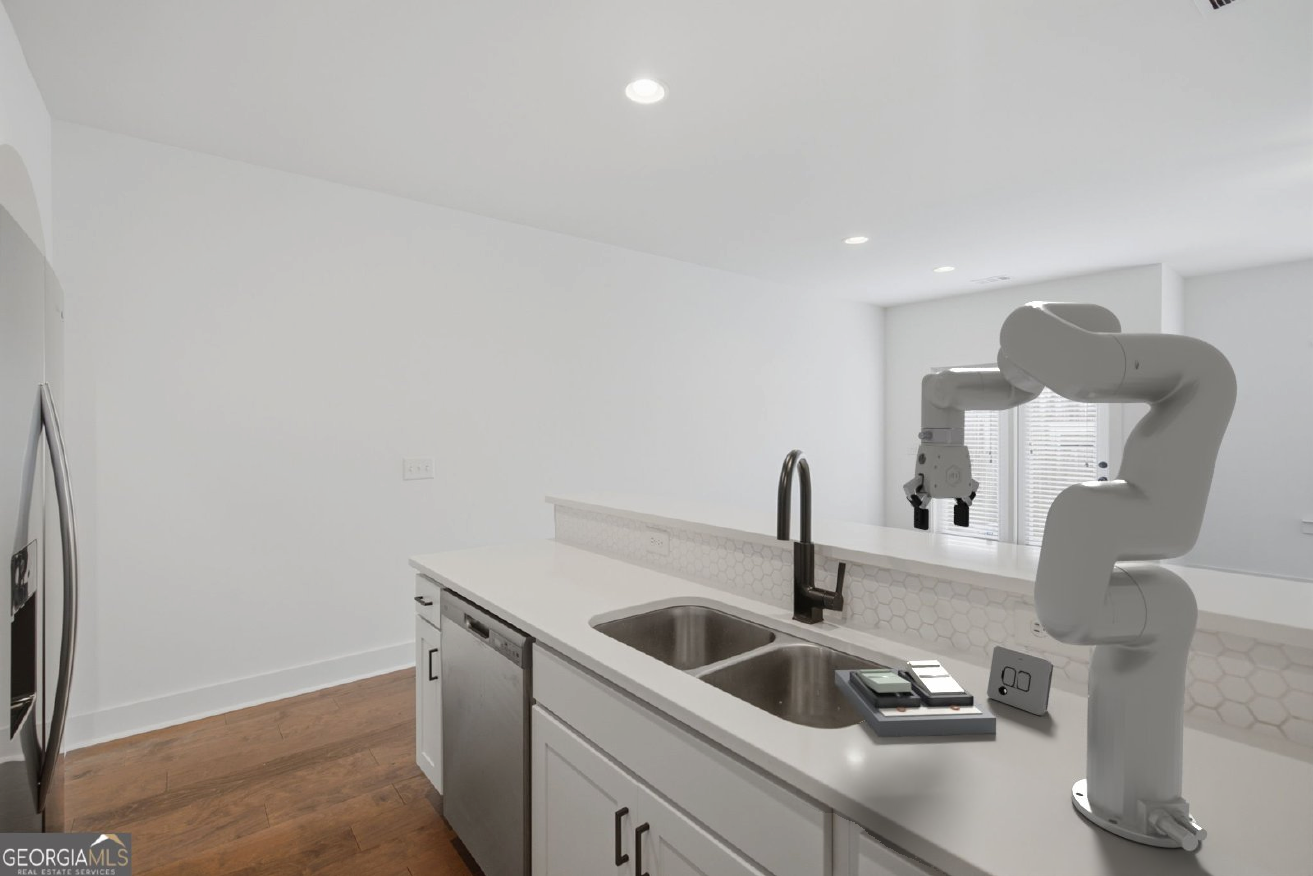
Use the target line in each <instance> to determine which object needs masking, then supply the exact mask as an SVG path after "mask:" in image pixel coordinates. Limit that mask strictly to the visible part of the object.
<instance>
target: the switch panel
mask: <svg viewBox="0 0 1313 876" xmlns="http://www.w3.org/2000/svg"><path fill="white" fill-rule="evenodd" d="M873 669H874V668H873ZM873 669H865V670H873ZM887 669H888V670H890V672H891V673H893V674H895V675H898V676H899V677H901V678H903V679H905V680H907V681H909V682H910V683H911V691H912V692H877V691H875V690H874V689H872V688H871V687H869V686H867V685H866V684H864V683H863V682H862V680H861V679H860V678H859V677H858V672H859V670H860V669H837V670H834V684H835V685H836V687H837V688H838V689H839V691H841V693H842V694H843V695H844V696H845V698H846V699H847V700H848V701H849V702H850V704H851V705H852V706H853V707H854V708H855V710H856V711H857V712H858V713H859V715H860V716H861V717H862V718H863V719H864V721H865V722H866V723H867V725H868V726H869V727H870V728H871V729H872V730H873V732H874V733H875V734H876V735H877V737H879V738H885V737H917V736H918V737H920V736H946V735H947V736H948V735H949V736H950V735H978V734H979V735H981V734H983V735H985V734H997V717H996V715H994V714H992V713H991V712H990V711H988V710H987V709H986V708H985V707H983V706H982V705H981V704H980V703H978V701H976V700H975V697H974V695H973V694H971V693H970V692H969V691H967V689H965V688H963V687H962V686H961V685H959V684H958V685H959V686H960V687H961V688H962V690H963V691H964V695H929V694H928V693H927V692H926V691H924V690H923V689H922V688H921V687H920V686H919V685H918V683H917V682H916V681H915V680H914V678H913V677H912V676H911V675H910V673H909V672H908V671H907V670H906V668H887Z"/></svg>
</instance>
